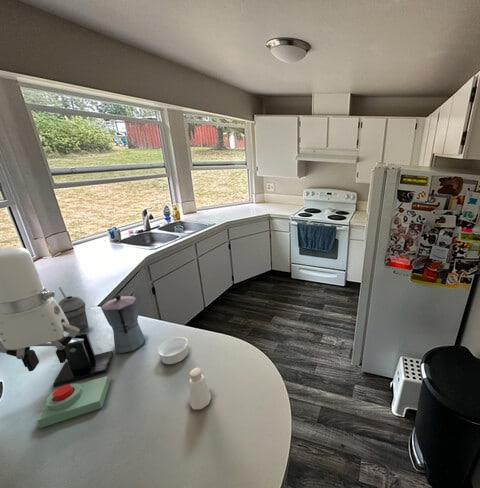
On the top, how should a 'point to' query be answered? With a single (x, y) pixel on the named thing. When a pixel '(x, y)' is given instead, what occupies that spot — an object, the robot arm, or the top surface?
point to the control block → (75, 402)
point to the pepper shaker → (198, 390)
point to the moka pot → (124, 323)
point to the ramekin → (173, 350)
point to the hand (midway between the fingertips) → (49, 362)
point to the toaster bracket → (82, 362)
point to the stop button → (62, 392)
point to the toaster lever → (69, 342)
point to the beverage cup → (75, 312)
